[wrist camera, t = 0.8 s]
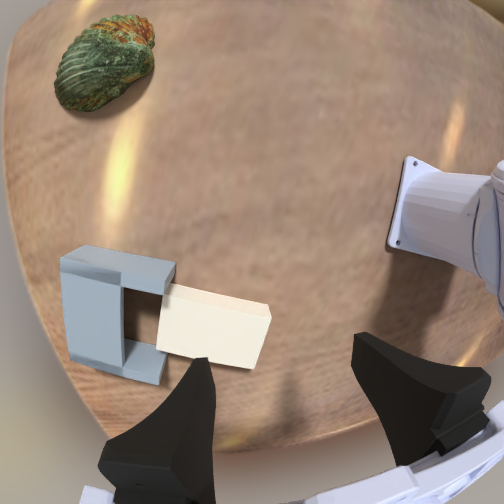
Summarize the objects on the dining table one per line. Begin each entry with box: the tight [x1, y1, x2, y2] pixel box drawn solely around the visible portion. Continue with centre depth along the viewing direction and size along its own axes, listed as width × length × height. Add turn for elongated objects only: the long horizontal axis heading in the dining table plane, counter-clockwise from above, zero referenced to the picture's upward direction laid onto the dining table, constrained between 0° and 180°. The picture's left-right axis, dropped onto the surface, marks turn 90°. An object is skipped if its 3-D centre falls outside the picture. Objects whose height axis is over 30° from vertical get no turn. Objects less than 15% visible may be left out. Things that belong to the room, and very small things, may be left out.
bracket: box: [60, 244, 176, 385], centre depth 19 cm, size 8×9×4 cm
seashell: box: [54, 15, 155, 112], centre depth 14 cm, size 10×4×10 cm
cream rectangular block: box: [156, 283, 272, 369], centre depth 21 cm, size 8×5×3 cm, turn 75°
